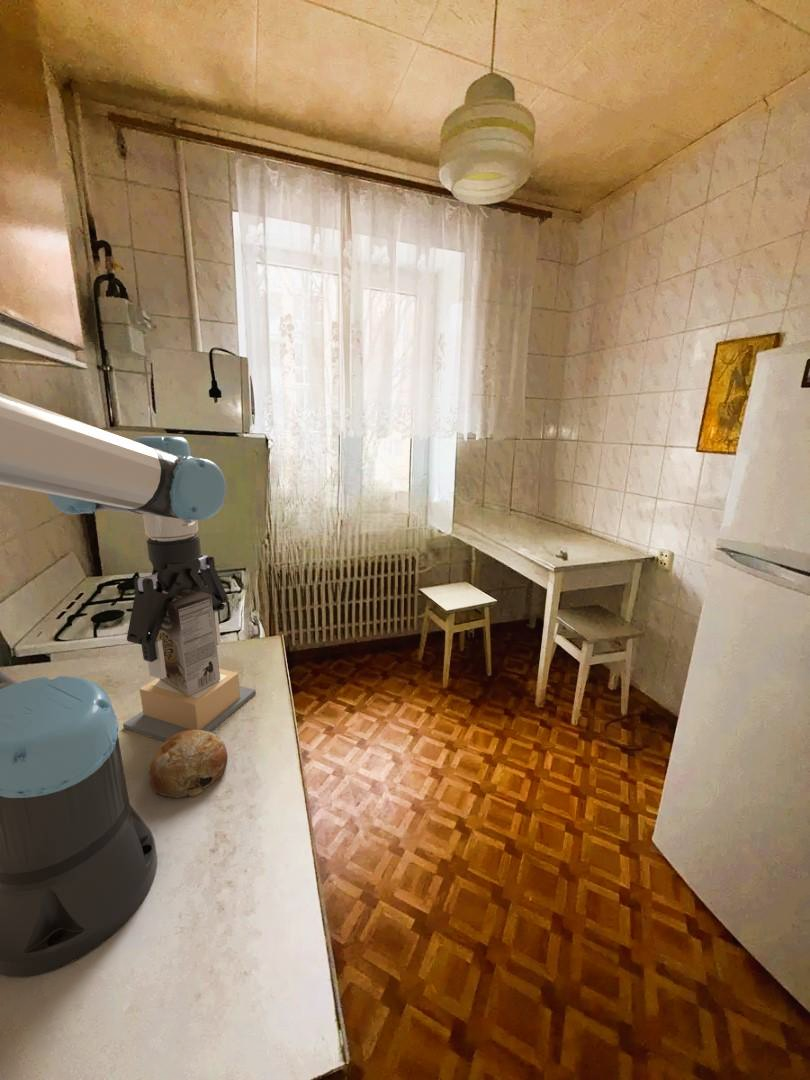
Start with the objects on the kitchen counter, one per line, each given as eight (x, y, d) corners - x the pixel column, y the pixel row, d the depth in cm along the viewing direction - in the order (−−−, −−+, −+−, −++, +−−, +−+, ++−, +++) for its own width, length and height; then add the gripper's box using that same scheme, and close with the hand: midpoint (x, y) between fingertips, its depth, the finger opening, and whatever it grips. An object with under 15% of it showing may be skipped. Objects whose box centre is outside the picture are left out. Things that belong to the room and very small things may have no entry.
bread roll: (167, 828, 59) (172, 797, 56) (134, 768, 64) (137, 735, 60) (234, 783, 67) (243, 753, 63) (200, 732, 71) (207, 702, 68)
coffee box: (157, 680, 76) (143, 593, 72) (192, 664, 82) (181, 582, 77) (187, 698, 72) (174, 606, 67) (222, 679, 77) (212, 593, 73)
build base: (188, 749, 69) (184, 716, 67) (123, 727, 73) (118, 696, 72) (255, 693, 83) (253, 665, 82) (197, 678, 88) (194, 651, 86)
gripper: (121, 557, 58) (143, 702, 64) (242, 523, 80) (251, 633, 85) (81, 551, 61) (106, 691, 66) (210, 519, 82) (220, 626, 88)
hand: (187, 658), depth 76 cm, fingers open, 11 cm apart
